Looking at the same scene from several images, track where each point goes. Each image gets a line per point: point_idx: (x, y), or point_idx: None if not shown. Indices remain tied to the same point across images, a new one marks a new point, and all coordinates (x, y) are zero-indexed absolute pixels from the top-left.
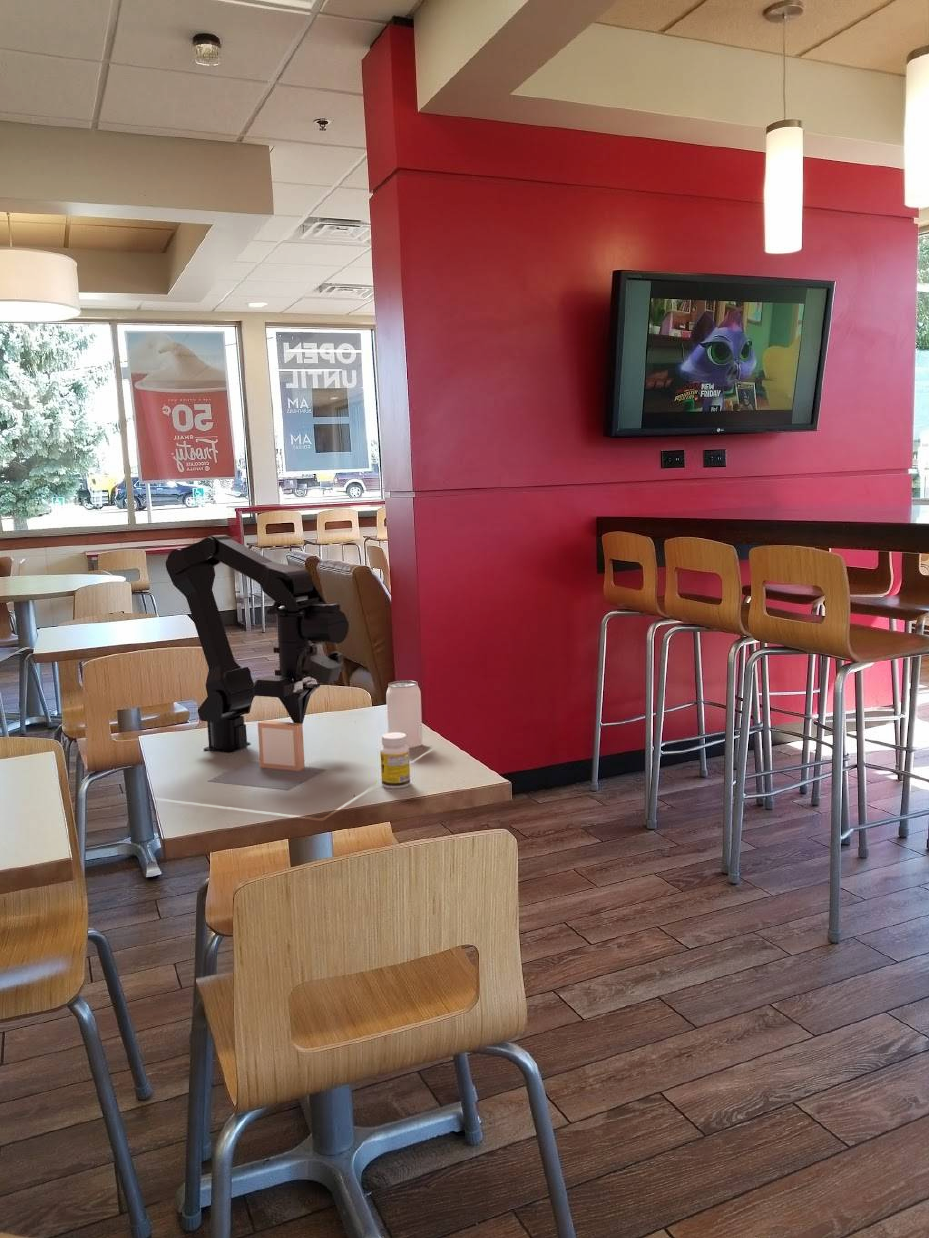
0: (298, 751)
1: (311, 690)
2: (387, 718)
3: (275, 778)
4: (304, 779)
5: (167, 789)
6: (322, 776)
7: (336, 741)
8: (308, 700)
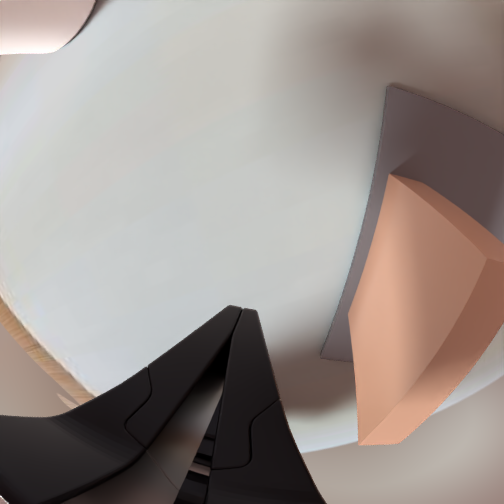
0: (453, 205)
1: (63, 498)
2: (10, 29)
3: None
4: (492, 138)
5: (467, 392)
6: (438, 88)
7: (71, 208)
8: (109, 396)
